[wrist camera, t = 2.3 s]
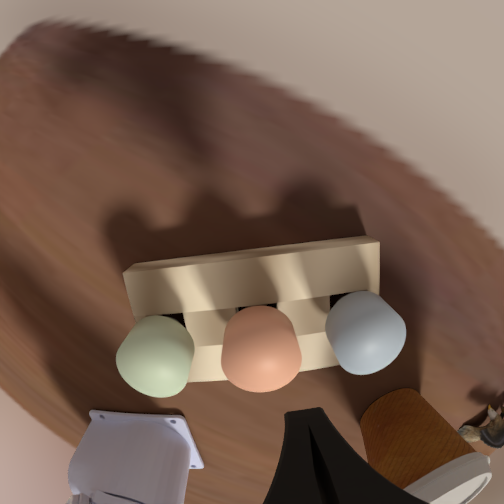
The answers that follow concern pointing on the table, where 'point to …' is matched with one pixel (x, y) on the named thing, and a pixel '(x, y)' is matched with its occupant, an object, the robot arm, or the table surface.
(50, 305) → the table surface
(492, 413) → the eagle figurine
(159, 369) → the sage button
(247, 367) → the peach round knob
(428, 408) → the disposable coffee cup
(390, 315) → the slate button
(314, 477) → the robot arm
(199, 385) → the table surface
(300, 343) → the button board
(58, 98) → the table surface
